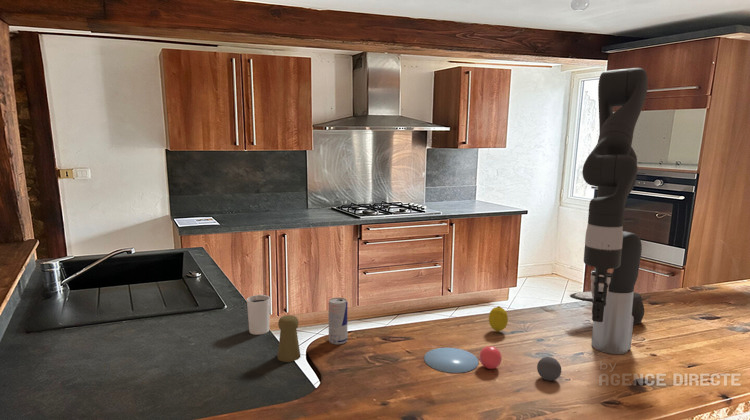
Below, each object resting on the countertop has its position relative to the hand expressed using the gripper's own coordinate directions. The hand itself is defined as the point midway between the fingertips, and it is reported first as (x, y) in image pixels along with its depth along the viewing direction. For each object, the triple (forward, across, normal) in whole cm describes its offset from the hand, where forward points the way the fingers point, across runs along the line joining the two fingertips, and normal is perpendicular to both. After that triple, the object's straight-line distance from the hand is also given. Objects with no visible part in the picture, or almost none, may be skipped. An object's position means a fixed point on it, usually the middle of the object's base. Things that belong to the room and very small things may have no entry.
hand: (597, 317), depth 109 cm
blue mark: (+17, 0, +34) cm, 38 cm away
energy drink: (+17, -2, +66) cm, 68 cm away
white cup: (+17, -6, +91) cm, 93 cm away
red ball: (+14, 0, +24) cm, 28 cm away
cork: (+17, -16, +73) cm, 77 cm away
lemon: (+17, +24, +26) cm, 39 cm away
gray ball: (+14, 0, +10) cm, 17 cm away
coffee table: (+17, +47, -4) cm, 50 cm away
